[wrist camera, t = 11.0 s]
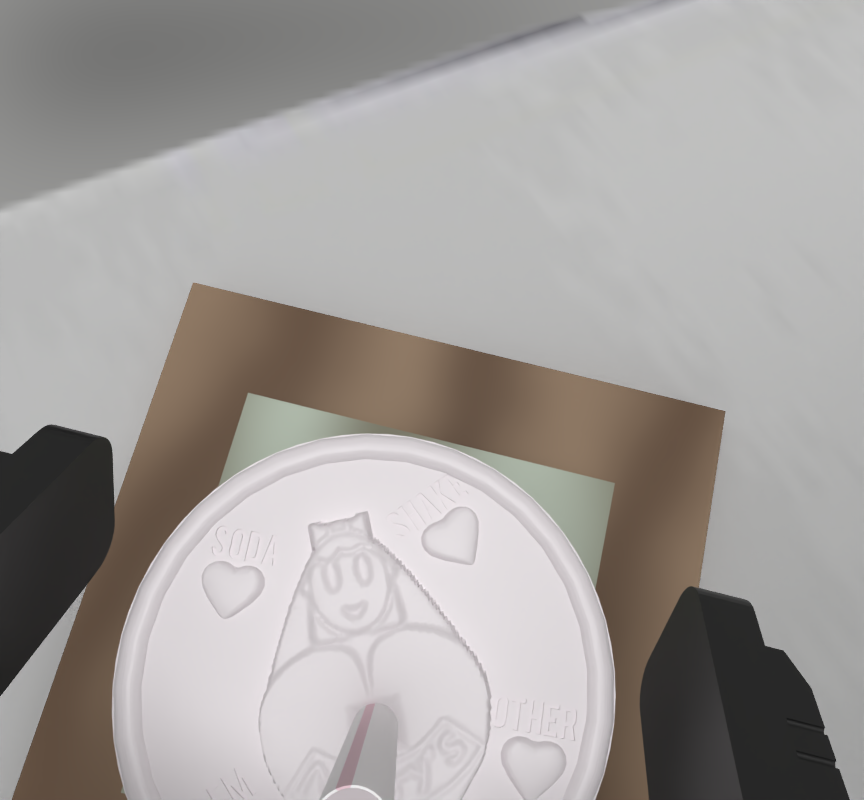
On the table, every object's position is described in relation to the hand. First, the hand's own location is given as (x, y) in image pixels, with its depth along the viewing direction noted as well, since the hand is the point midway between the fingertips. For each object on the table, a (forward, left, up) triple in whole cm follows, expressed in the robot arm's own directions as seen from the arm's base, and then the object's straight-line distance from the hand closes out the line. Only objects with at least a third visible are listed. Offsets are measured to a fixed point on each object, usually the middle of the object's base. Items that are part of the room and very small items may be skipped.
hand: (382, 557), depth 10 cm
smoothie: (0, +2, -9) cm, 9 cm away
